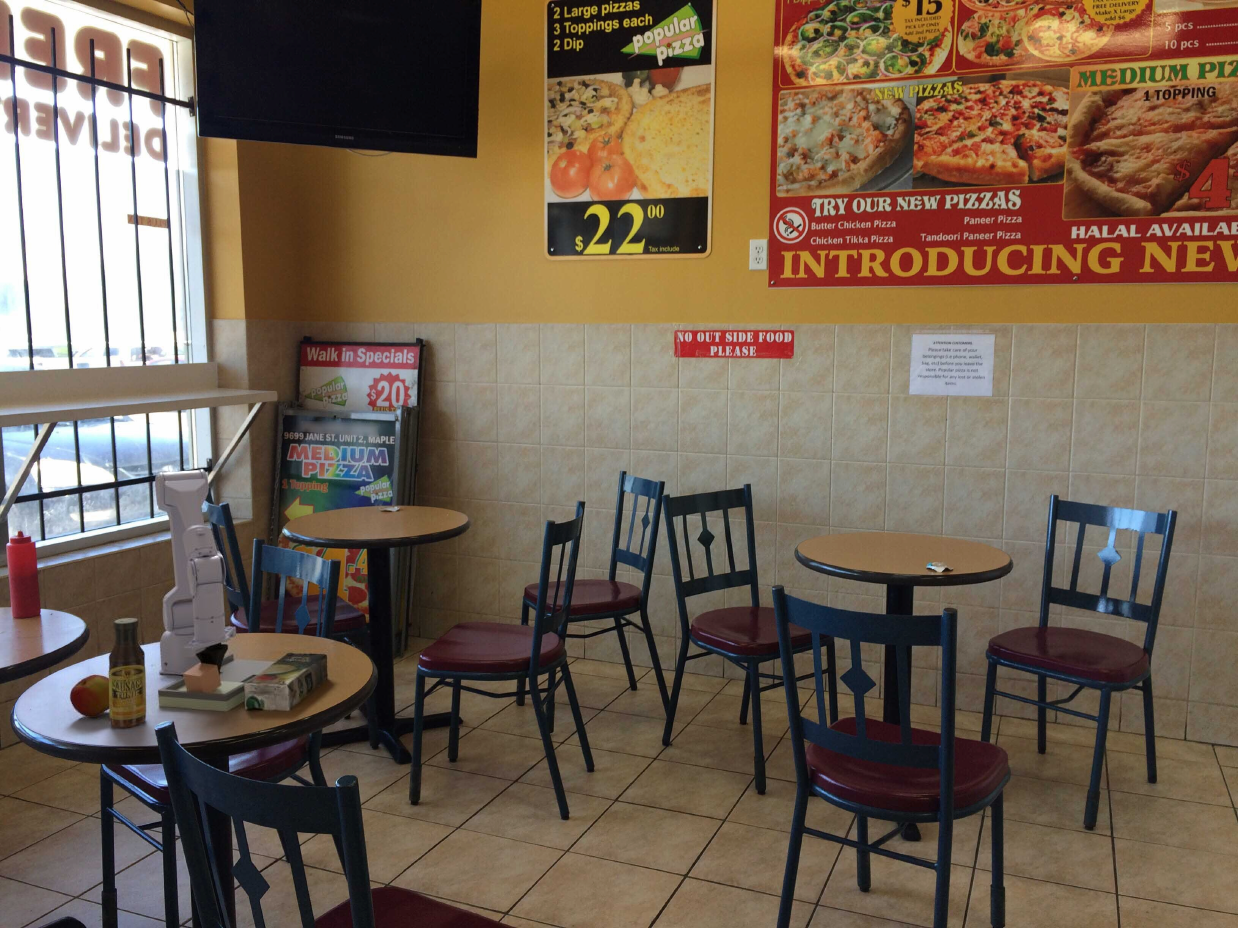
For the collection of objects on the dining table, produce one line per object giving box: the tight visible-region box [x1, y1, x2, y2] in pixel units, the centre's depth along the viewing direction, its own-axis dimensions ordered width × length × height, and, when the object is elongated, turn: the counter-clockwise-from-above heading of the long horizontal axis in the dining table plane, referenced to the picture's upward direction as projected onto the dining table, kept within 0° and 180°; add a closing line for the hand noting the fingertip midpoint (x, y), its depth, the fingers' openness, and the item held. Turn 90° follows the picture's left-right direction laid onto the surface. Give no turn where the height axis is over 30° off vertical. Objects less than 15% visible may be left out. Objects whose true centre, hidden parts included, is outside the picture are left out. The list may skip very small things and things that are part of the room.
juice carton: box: [244, 652, 329, 712], centre depth 202 cm, size 20×10×6 cm, turn 174°
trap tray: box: [157, 653, 276, 712], centre depth 205 cm, size 15×24×3 cm, turn 168°
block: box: [182, 663, 221, 693], centre depth 197 cm, size 4×4×4 cm
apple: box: [69, 674, 109, 718], centre depth 190 cm, size 8×8×8 cm
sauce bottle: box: [108, 617, 147, 729], centre depth 185 cm, size 7×6×20 cm
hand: (212, 680), depth 200 cm, fingers closed, pressing on block
